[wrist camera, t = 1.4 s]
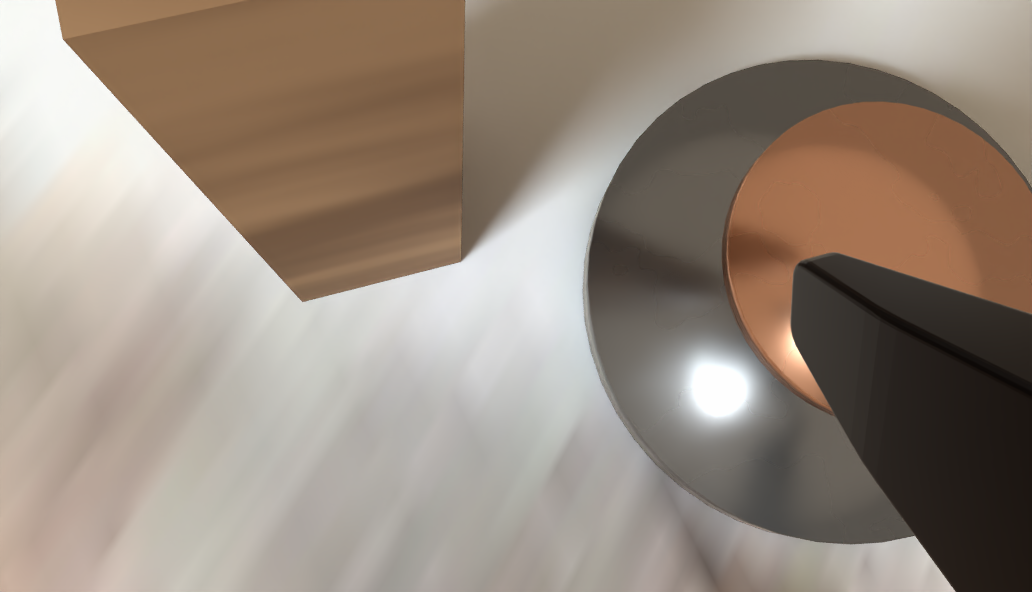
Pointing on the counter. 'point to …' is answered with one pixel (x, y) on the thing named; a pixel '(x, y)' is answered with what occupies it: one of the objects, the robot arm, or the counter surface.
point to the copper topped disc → (783, 274)
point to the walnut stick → (300, 122)
